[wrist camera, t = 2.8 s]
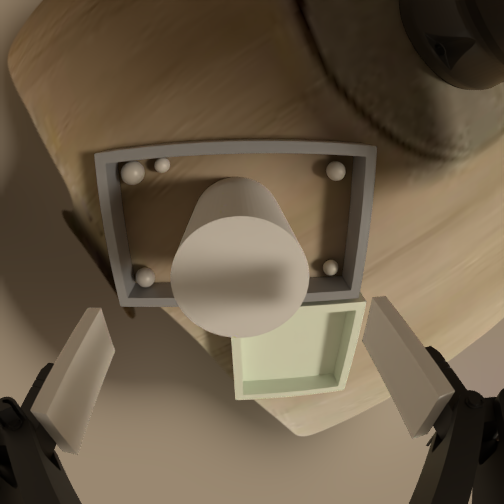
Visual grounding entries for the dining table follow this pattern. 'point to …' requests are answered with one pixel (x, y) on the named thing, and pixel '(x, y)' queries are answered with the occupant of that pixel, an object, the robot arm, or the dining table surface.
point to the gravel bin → (133, 171)
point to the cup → (239, 262)
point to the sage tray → (300, 352)
